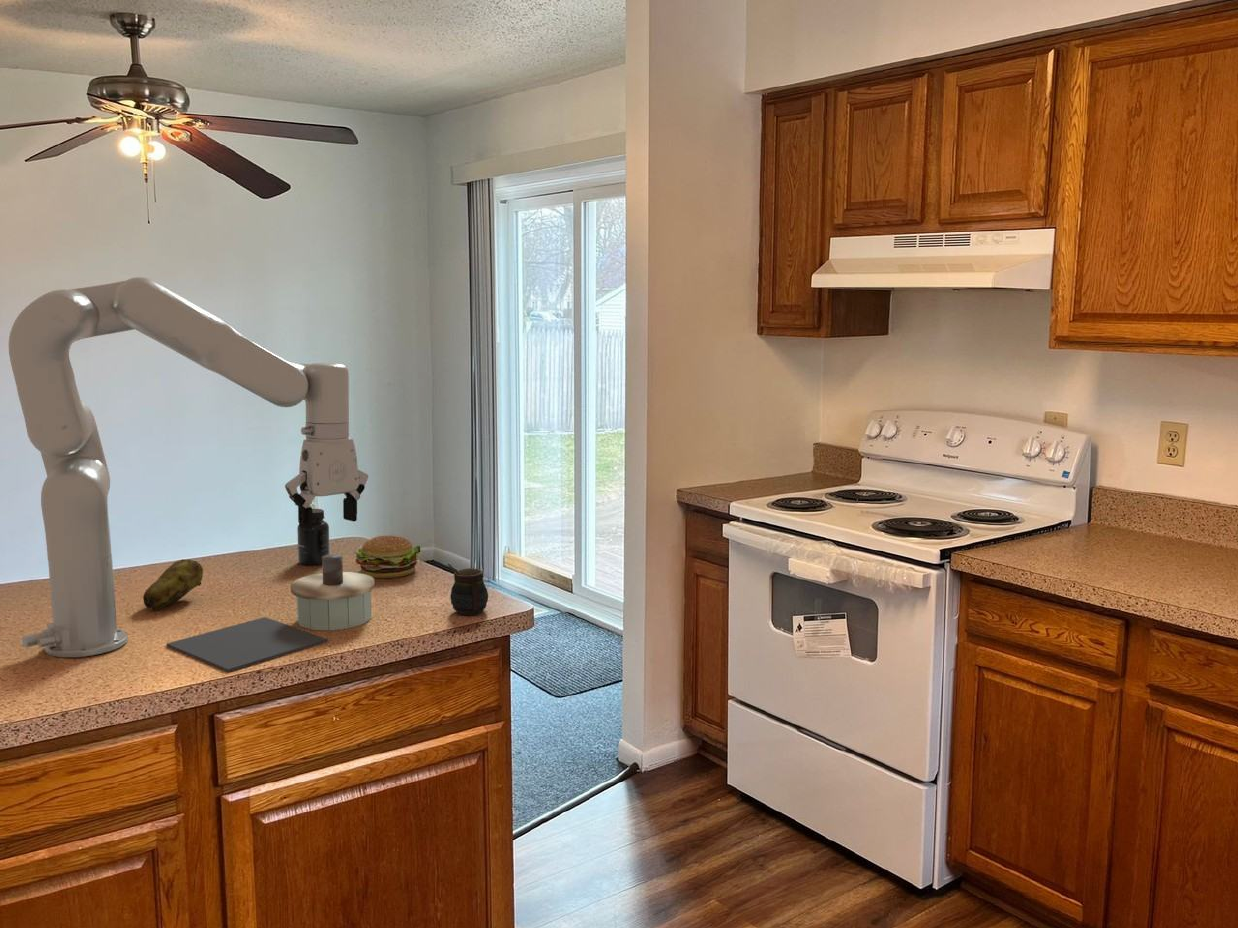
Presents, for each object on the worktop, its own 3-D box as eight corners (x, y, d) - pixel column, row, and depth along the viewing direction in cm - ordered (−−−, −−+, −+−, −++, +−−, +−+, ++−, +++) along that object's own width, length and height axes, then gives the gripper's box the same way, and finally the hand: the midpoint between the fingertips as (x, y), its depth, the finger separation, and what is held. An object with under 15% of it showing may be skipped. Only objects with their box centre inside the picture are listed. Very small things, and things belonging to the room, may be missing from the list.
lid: (324, 605, 178) (323, 571, 177) (274, 589, 187) (272, 557, 186) (391, 586, 190) (390, 555, 189) (341, 572, 199) (340, 542, 198)
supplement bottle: (292, 565, 226) (290, 512, 224) (307, 557, 233) (305, 506, 231) (321, 567, 225) (319, 514, 223) (335, 559, 232) (333, 508, 230)
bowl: (326, 635, 181) (325, 602, 180) (283, 620, 188) (282, 589, 187) (384, 617, 191) (384, 586, 190) (341, 604, 199) (340, 574, 198)
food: (344, 579, 216) (343, 543, 214) (369, 563, 230) (368, 528, 228) (406, 583, 214) (406, 546, 213) (428, 566, 228) (427, 531, 226)
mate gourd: (495, 614, 194) (494, 563, 192) (457, 620, 190) (456, 569, 188) (479, 603, 200) (478, 554, 198) (443, 610, 196) (442, 560, 194)
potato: (130, 606, 196) (127, 566, 194) (193, 592, 205) (191, 553, 204) (151, 615, 190) (148, 574, 189) (215, 600, 200) (213, 560, 199)
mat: (228, 672, 162) (228, 669, 162) (166, 646, 174) (166, 643, 174) (327, 641, 177) (327, 638, 177) (265, 619, 189) (264, 616, 189)
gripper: (298, 437, 175) (300, 534, 177) (379, 430, 188) (379, 520, 191) (273, 433, 179) (275, 527, 182) (353, 426, 193) (354, 514, 195)
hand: (328, 524), depth 186 cm, fingers open, 9 cm apart
